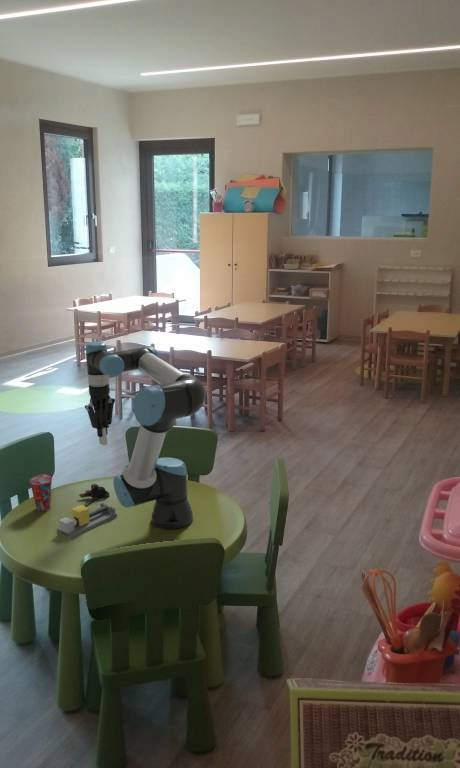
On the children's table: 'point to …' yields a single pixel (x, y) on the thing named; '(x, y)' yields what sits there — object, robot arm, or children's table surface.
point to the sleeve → (81, 514)
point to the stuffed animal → (95, 494)
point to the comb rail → (96, 518)
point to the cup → (42, 491)
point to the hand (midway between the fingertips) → (103, 443)
